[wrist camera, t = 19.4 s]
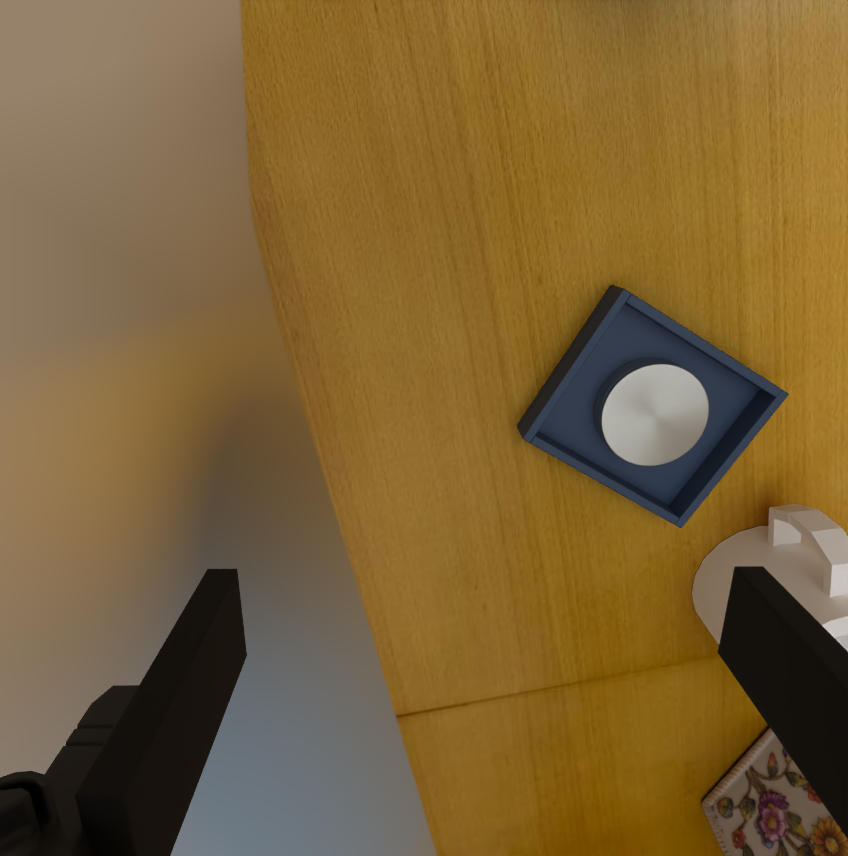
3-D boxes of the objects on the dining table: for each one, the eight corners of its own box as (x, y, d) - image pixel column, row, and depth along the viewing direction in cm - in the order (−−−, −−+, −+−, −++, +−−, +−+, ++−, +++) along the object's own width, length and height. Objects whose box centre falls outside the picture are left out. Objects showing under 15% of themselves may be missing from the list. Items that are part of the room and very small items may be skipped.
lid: (645, 475, 43) (655, 486, 42) (571, 418, 42) (578, 427, 40) (718, 398, 42) (731, 406, 40) (643, 336, 40) (654, 341, 38)
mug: (690, 495, 45) (770, 575, 34) (833, 475, 44) (956, 551, 34) (692, 648, 49) (763, 759, 39) (821, 631, 48) (928, 739, 38)
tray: (516, 426, 43) (522, 438, 40) (611, 284, 40) (624, 288, 37) (667, 511, 45) (681, 528, 42) (767, 383, 42) (789, 394, 39)
